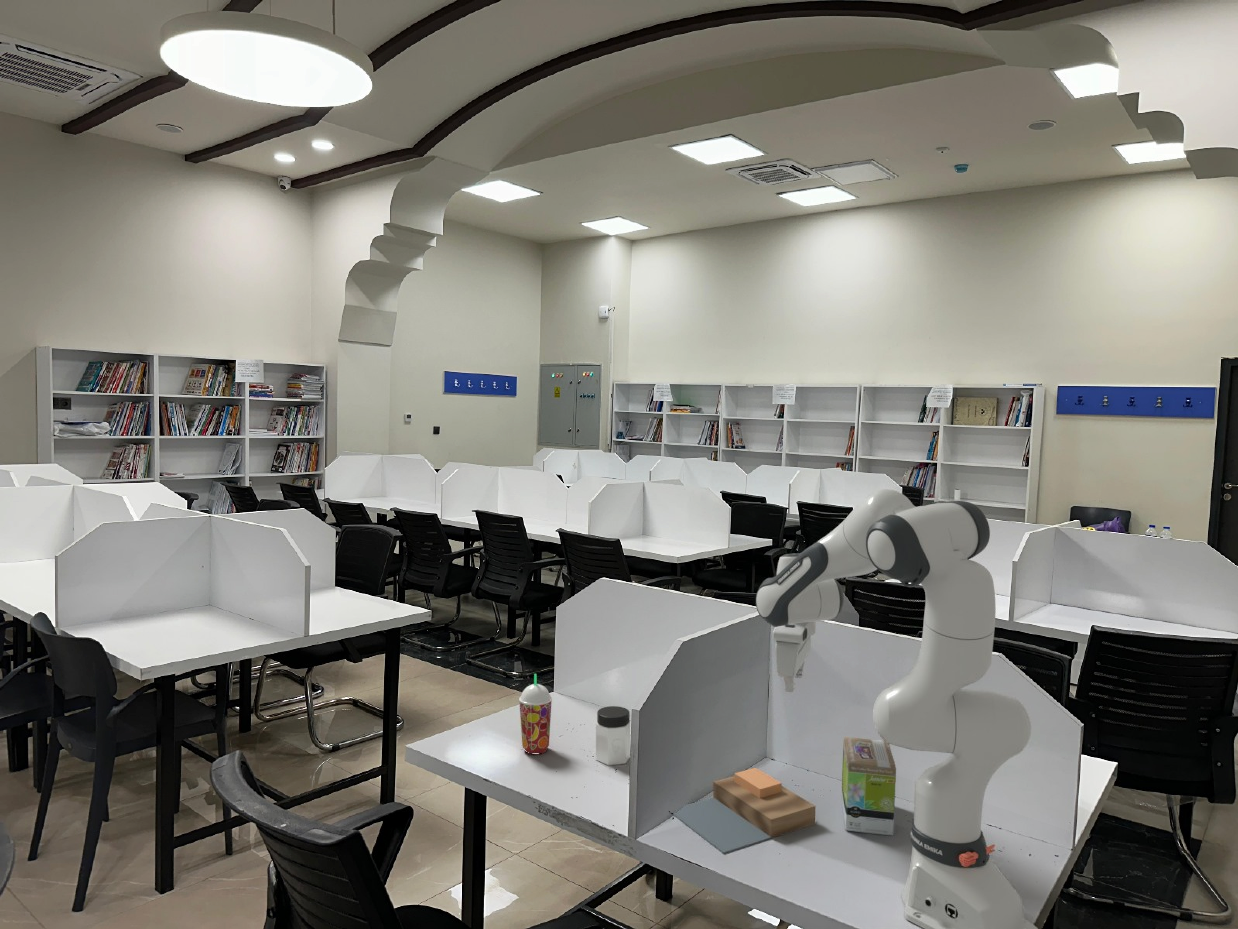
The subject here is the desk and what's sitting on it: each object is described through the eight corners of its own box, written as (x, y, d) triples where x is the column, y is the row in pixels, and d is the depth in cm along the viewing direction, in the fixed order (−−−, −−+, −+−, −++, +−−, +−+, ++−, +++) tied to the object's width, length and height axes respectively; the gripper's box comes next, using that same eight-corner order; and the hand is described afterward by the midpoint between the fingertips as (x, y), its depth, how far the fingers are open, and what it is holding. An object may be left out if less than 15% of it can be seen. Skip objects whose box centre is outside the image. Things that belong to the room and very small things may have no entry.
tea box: (895, 837, 173) (897, 767, 172) (844, 832, 175) (846, 762, 174) (887, 803, 187) (888, 738, 186) (840, 799, 189) (842, 735, 188)
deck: (815, 824, 178) (815, 806, 177) (770, 838, 172) (771, 819, 171) (755, 787, 195) (755, 770, 195) (713, 798, 189) (713, 781, 189)
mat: (770, 838, 172) (770, 837, 172) (723, 854, 166) (723, 852, 166) (713, 798, 189) (713, 797, 189) (668, 811, 183) (668, 810, 183)
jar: (599, 767, 206) (599, 719, 205) (592, 753, 213) (592, 707, 213) (634, 763, 208) (634, 716, 207) (626, 750, 216) (626, 704, 215)
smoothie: (522, 743, 220) (521, 668, 218) (553, 744, 219) (553, 669, 218) (517, 757, 211) (516, 679, 210) (549, 757, 211) (549, 679, 210)
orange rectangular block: (781, 792, 184) (781, 783, 184) (759, 798, 181) (760, 789, 181) (755, 776, 192) (755, 767, 191) (734, 782, 189) (734, 773, 188)
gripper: (790, 610, 198) (789, 667, 199) (770, 634, 179) (770, 697, 181) (818, 613, 195) (816, 671, 197) (800, 638, 177) (799, 701, 178)
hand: (794, 684), depth 189 cm, fingers open, 8 cm apart
